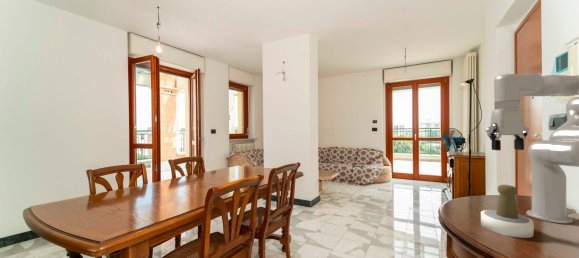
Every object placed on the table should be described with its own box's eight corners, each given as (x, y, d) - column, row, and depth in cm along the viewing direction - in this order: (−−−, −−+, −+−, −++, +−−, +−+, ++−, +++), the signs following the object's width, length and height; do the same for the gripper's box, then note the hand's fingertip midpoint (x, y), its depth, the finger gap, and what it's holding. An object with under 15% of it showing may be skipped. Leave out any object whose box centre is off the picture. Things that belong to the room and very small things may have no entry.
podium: (505, 221, 93) (504, 208, 93) (545, 237, 79) (545, 222, 79) (471, 222, 92) (471, 209, 92) (506, 238, 78) (506, 224, 78)
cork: (511, 213, 88) (511, 183, 88) (523, 219, 82) (523, 187, 82) (492, 212, 89) (492, 183, 89) (502, 218, 83) (502, 186, 83)
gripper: (517, 107, 97) (518, 148, 97) (478, 107, 96) (478, 149, 96) (537, 105, 90) (538, 150, 90) (495, 105, 89) (496, 151, 89)
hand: (507, 149), depth 93 cm, fingers open, 9 cm apart
